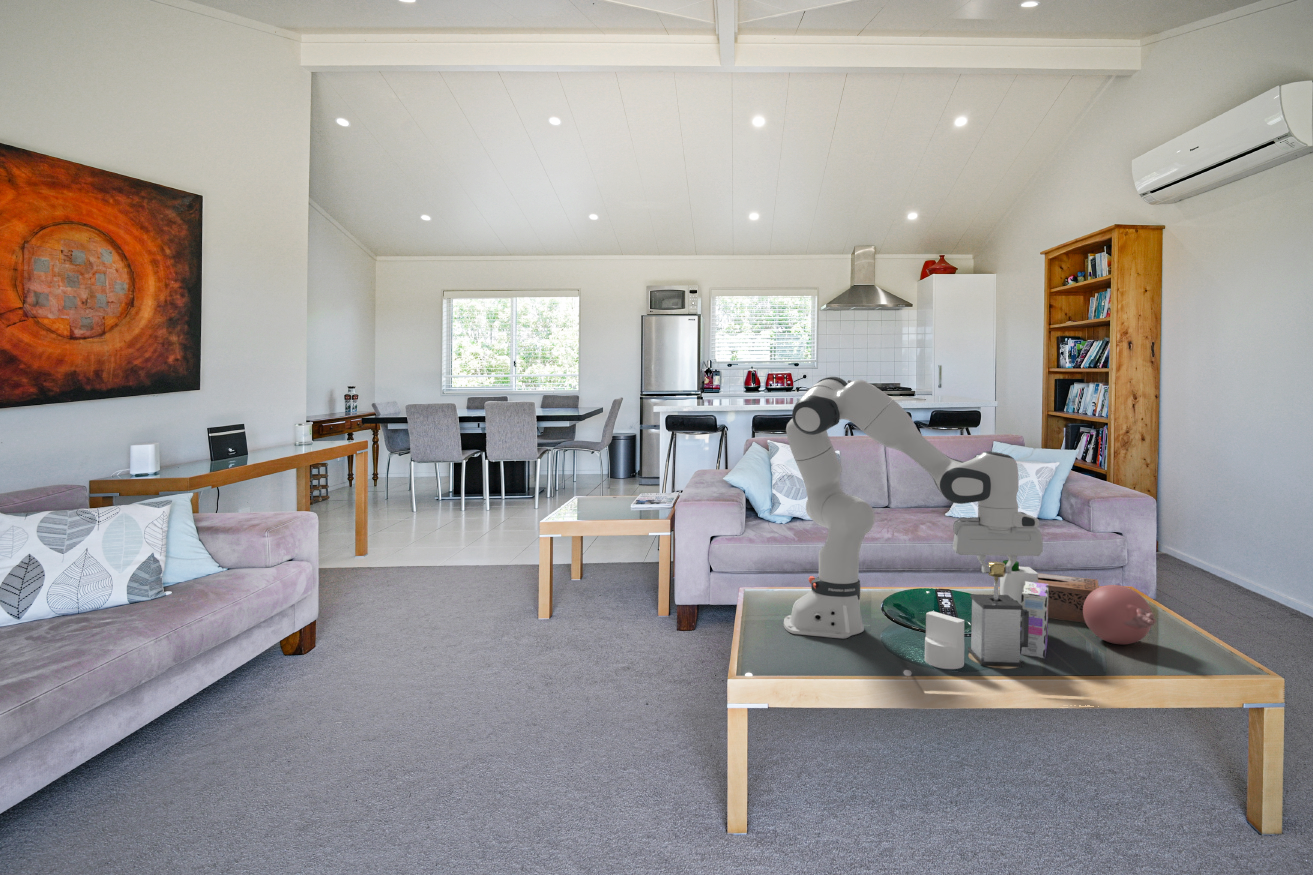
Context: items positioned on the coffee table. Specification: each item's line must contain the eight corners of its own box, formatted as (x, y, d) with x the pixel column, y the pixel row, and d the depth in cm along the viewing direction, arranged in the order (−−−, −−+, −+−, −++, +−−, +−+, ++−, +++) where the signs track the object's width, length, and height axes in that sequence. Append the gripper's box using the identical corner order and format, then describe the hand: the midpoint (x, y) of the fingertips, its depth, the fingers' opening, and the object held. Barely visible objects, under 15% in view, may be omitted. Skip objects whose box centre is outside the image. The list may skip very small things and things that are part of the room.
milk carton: (995, 626, 196) (997, 557, 195) (1029, 628, 195) (1031, 558, 193) (1004, 637, 188) (1006, 565, 187) (1040, 639, 186) (1042, 566, 185)
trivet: (977, 669, 166) (978, 667, 166) (961, 651, 178) (961, 649, 178) (1030, 671, 164) (1030, 669, 164) (1010, 652, 176) (1010, 650, 176)
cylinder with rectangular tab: (971, 665, 168) (972, 618, 168) (950, 674, 163) (951, 625, 162) (938, 654, 176) (939, 608, 175) (917, 662, 171) (917, 615, 170)
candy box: (1045, 660, 171) (1047, 596, 170) (1019, 656, 174) (1020, 592, 173) (1048, 643, 183) (1049, 582, 182) (1023, 639, 186) (1024, 579, 185)
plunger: (987, 633, 168) (988, 566, 167) (978, 625, 174) (979, 560, 173) (1012, 634, 167) (1014, 566, 166) (1003, 626, 173) (1004, 560, 172)
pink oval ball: (1117, 660, 171) (1119, 599, 170) (1069, 632, 191) (1071, 578, 190) (1179, 660, 171) (1181, 599, 170) (1125, 632, 191) (1127, 578, 190)
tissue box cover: (1096, 611, 210) (1097, 579, 209) (1098, 625, 197) (1099, 591, 197) (1002, 599, 223) (1003, 569, 222) (999, 611, 211) (999, 579, 210)
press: (981, 665, 167) (982, 605, 166) (968, 651, 176) (969, 593, 175) (1034, 667, 165) (1036, 606, 164) (1018, 652, 175) (1019, 594, 174)
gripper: (957, 519, 167) (956, 575, 168) (1046, 520, 164) (1045, 576, 165) (949, 514, 173) (948, 568, 174) (1035, 515, 171) (1033, 570, 172)
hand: (996, 572), depth 170 cm, fingers closed on plunger, 4 cm apart
